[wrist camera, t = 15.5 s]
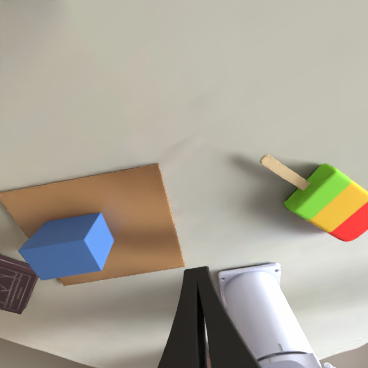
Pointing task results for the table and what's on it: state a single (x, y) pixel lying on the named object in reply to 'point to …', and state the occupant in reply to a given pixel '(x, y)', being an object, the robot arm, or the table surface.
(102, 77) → the table surface
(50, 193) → the cork mat
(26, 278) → the chocolate bar
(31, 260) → the blue block
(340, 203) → the popsicle
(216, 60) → the table surface
